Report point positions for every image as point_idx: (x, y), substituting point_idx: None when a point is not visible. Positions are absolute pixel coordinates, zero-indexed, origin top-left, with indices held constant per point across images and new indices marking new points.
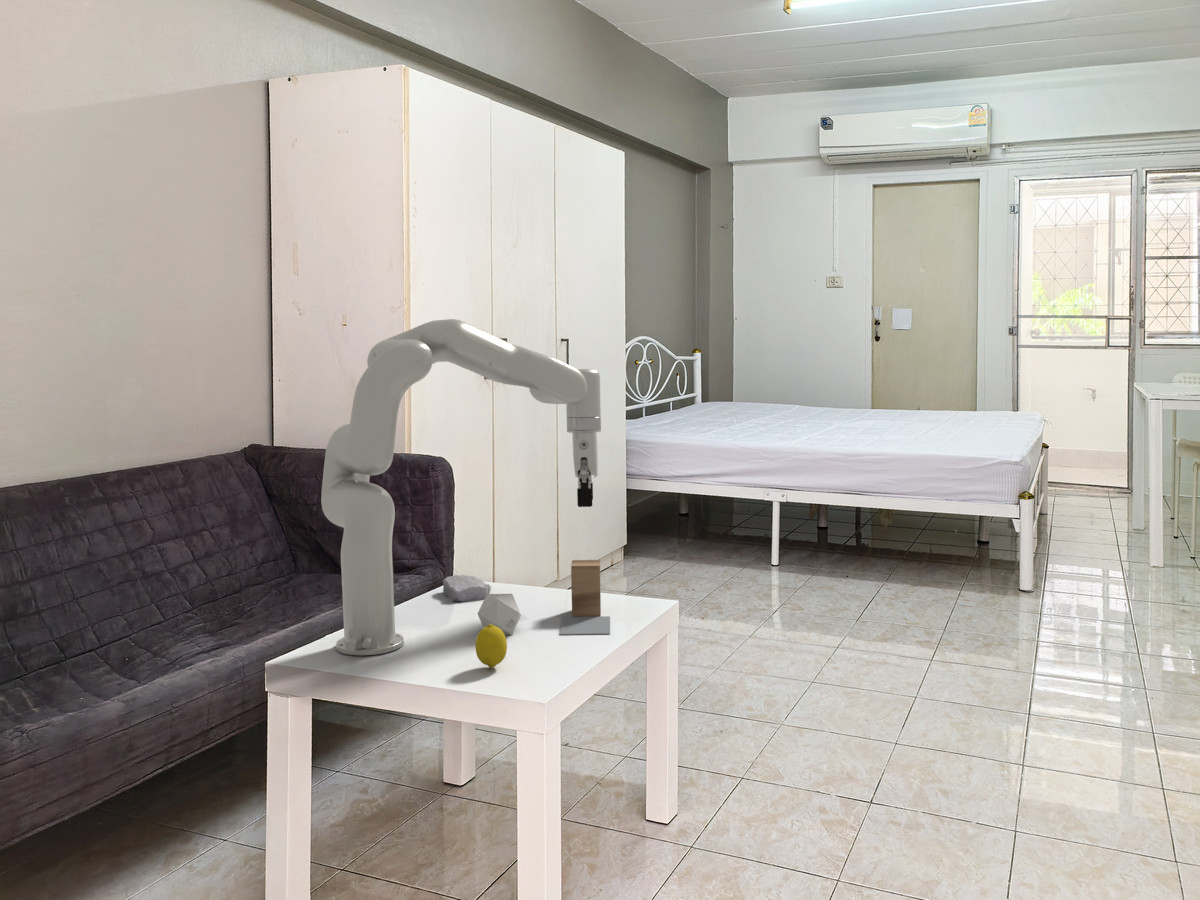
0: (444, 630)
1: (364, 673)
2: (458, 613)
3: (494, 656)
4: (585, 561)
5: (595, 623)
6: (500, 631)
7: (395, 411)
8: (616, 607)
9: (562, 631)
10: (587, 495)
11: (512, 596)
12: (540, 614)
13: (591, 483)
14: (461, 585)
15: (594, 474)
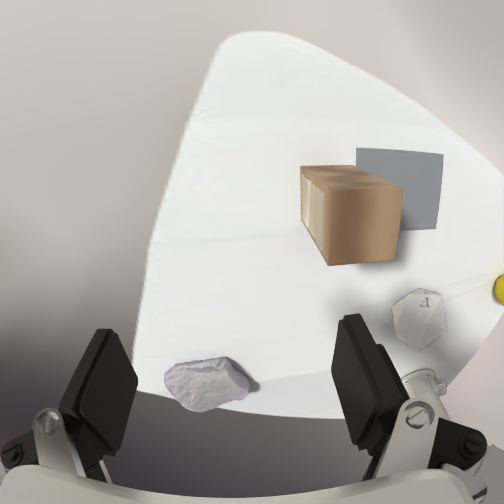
0: None
1: (465, 362)
2: (306, 368)
3: None
4: (349, 229)
5: (397, 175)
6: None
7: None
8: (283, 134)
9: (426, 225)
10: (397, 376)
11: (431, 319)
12: (326, 270)
13: (77, 411)
14: (228, 394)
15: (460, 479)
